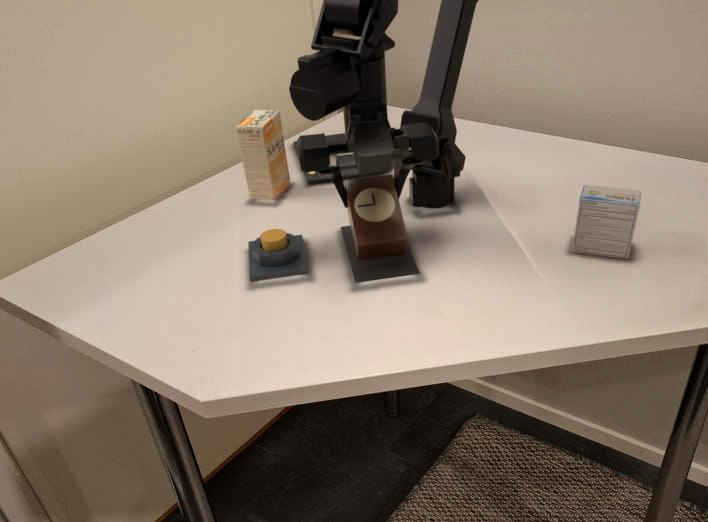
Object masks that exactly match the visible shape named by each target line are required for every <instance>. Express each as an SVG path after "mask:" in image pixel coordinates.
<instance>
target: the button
mask: <svg viewBox="0 0 708 522" xmlns="http://www.w3.org/2000/svg"><path fill="white" fill-rule="evenodd" d="M286 233H287V232H286V231H285V230H284V229H280V228H271V229H267V230H265V231H263V232H262V233H261V234H260V236H259V237H260V238H261V243H262V248H263V249H264V250H265V251H278V250H282V249H284V248H286V247H287V246H288V241H287V236H286Z"/></svg>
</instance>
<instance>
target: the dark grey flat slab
mask: <svg viewBox="0 0 708 522" xmlns="http://www.w3.org/2000/svg"><path fill="white" fill-rule="evenodd" d="M340 231H341V235H342V239H343V242H344V245H345V250H346V254H347V257H348V261H349V265H350V268H351V272H352V275H353V279H354V282H355V284H359V283H365V282H366V283H367V282H374V281H381V280H387V279H393V278H401V277H408V276H415V275H420V274H421V272H420V270H419V267H418V265H417V262H416V260H415V257H414V255H413V253H412V251H411V248H410V246H409V243H408V242H407V249H406V254H405V255H398V256H390V257H383V258H376V259H369V260H361V261H357V257H356V252H355V247H354V241H353V236H352V231H351V226H350V225H345V226H340Z"/></svg>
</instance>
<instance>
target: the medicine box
mask: <svg viewBox="0 0 708 522" xmlns="http://www.w3.org/2000/svg"><path fill="white" fill-rule="evenodd" d="M641 200H642V191H641V190H640V189H631V188H621V187H611V186H599V185H589V184H584V185H583V186H582V191H581V193H580V196H579V200H578V207H577V215H576V221H575V228H574V235H573V240H572V247H571V253H577V254H585V255H593V256H600V257H601V256H602V257H610V258H617V259H624V260H628V259H629V258H630V253H631V247H632V243H633V238H634V234H635V230H636V226H637V221H638V216H639V212H640V209H641V203H642V201H641Z"/></svg>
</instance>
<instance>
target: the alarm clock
mask: <svg viewBox="0 0 708 522" xmlns="http://www.w3.org/2000/svg"><path fill="white" fill-rule="evenodd" d="M343 183H344V187H345V191H346V196H347V204H348V208H346V209H347V210H346V211H347V216H348V220H349V226H351V231H352V236H353V241H354V247H355V252H356V257H357V261H361V260H369V259H376V258H383V257H390V256H398V255H405V254H406V249H407V243H408V242H409V241H408V240H409V237H408V234H407V229H406V225H405V221H404V217H403V213H402V208H401V204H400V198H399V199H398V195H397V190H396V186H395V182H394V173H390V174H382V175H376V176H370V177H363V178H355V179H348V180H343Z"/></svg>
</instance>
